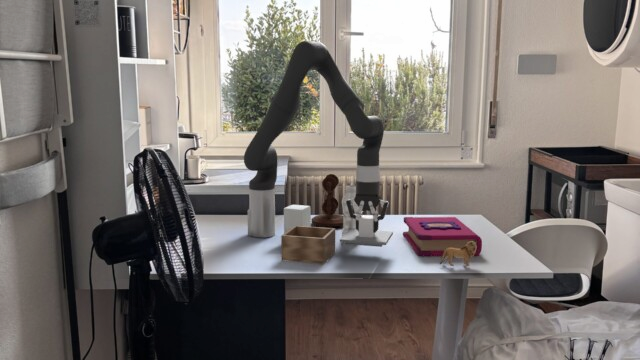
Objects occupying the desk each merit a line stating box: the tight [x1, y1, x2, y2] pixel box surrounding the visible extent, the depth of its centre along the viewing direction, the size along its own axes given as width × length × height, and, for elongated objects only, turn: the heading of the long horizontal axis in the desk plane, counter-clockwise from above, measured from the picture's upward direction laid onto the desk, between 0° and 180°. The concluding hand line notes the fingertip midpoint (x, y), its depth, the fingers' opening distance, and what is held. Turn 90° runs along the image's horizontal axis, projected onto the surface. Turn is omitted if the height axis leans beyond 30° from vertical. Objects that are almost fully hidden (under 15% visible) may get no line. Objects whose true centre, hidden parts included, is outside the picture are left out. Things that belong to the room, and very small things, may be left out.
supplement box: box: [283, 204, 312, 234], centre depth 214 cm, size 7×7×13 cm
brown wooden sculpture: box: [311, 173, 344, 229], centre depth 238 cm, size 15×15×20 cm
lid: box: [339, 215, 394, 248], centre depth 196 cm, size 15×15×8 cm
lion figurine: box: [439, 241, 477, 267], centre depth 188 cm, size 12×4×7 cm, turn 100°
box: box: [280, 226, 336, 265], centre depth 197 cm, size 14×14×8 cm
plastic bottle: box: [341, 184, 359, 237], centre depth 213 cm, size 6×7×20 cm
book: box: [402, 216, 483, 258], centre depth 212 cm, size 21×28×8 cm
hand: (367, 231), depth 196 cm, fingers closed on lid, 4 cm apart
